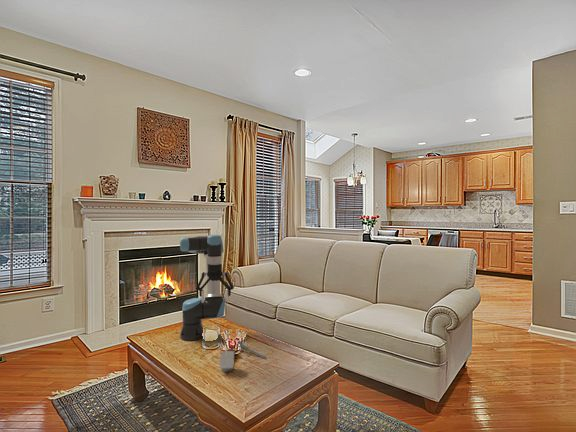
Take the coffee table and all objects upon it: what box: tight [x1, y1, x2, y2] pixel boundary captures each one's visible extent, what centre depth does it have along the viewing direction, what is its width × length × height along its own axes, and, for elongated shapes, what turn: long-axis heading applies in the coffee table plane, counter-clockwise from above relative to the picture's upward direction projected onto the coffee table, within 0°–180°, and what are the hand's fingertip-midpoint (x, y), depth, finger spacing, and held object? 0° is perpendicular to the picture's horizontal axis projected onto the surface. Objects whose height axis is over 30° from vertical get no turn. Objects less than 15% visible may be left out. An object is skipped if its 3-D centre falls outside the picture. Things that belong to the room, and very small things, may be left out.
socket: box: [219, 350, 235, 369], centre depth 172 cm, size 6×6×6 cm
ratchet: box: [221, 349, 236, 374], centre depth 181 cm, size 22×6×6 cm, turn 2°
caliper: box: [238, 340, 268, 360], centre depth 190 cm, size 20×1×6 cm, turn 58°
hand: (215, 302), depth 187 cm, fingers open, 13 cm apart
